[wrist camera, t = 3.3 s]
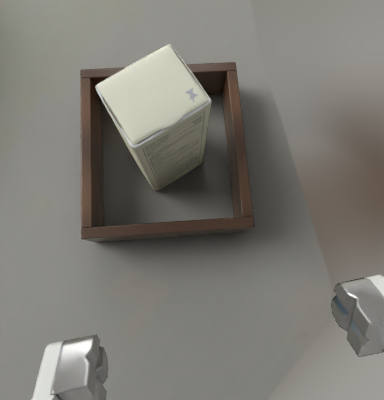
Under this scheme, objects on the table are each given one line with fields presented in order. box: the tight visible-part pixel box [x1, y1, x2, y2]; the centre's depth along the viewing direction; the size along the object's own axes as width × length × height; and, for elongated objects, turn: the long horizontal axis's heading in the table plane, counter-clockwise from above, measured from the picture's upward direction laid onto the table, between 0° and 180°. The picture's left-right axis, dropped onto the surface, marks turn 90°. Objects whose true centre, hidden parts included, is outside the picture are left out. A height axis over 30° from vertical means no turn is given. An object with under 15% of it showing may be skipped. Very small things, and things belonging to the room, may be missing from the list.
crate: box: [81, 62, 254, 242], centre depth 26 cm, size 14×13×4 cm
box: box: [95, 45, 211, 191], centre depth 22 cm, size 5×4×11 cm
